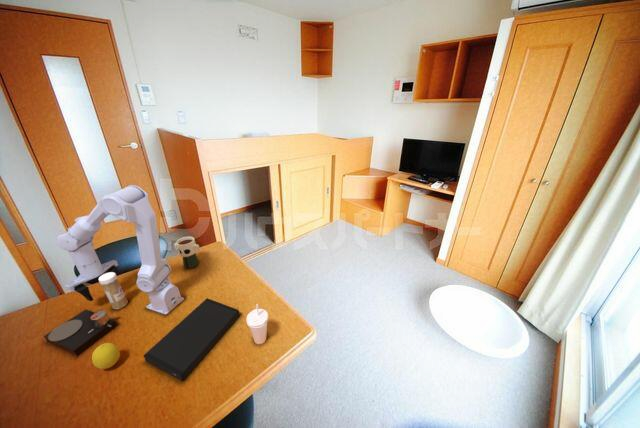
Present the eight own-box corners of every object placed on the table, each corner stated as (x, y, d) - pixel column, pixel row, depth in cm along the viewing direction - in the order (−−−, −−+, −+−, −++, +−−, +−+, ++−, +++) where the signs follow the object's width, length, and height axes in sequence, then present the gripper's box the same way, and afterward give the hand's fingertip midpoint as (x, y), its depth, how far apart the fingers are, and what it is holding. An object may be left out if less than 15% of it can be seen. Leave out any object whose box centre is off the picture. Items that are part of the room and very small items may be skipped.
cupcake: (106, 316, 78) (101, 308, 77) (111, 321, 77) (107, 312, 75) (92, 324, 76) (87, 316, 74) (98, 329, 74) (93, 320, 72)
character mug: (175, 269, 105) (167, 244, 99) (184, 259, 111) (178, 235, 106) (199, 270, 104) (193, 245, 99) (207, 260, 111) (201, 236, 105)
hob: (126, 322, 80) (123, 316, 78) (80, 357, 69) (76, 351, 67) (94, 310, 84) (91, 304, 83) (47, 341, 73) (43, 335, 72)
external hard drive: (239, 316, 83) (238, 309, 81) (183, 382, 63) (180, 375, 62) (208, 304, 87) (206, 298, 86) (146, 362, 68) (142, 355, 66)
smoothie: (274, 333, 77) (271, 301, 71) (263, 351, 71) (259, 317, 65) (257, 327, 79) (252, 295, 73) (245, 344, 73) (239, 311, 67)
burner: (88, 324, 76) (88, 323, 76) (58, 344, 69) (58, 344, 69) (73, 317, 78) (72, 316, 78) (42, 337, 71) (42, 336, 71)
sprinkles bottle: (127, 306, 86) (114, 277, 80) (111, 312, 83) (96, 282, 78) (128, 298, 89) (115, 269, 83) (113, 303, 87) (98, 274, 81)
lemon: (103, 379, 63) (91, 360, 60) (95, 368, 66) (83, 349, 63) (127, 362, 68) (117, 343, 64) (118, 352, 70) (108, 333, 67)
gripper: (102, 248, 87) (115, 277, 93) (52, 272, 75) (70, 304, 81) (116, 252, 85) (128, 281, 91) (66, 277, 73) (84, 309, 79)
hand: (102, 292), depth 86 cm, fingers open, 7 cm apart
